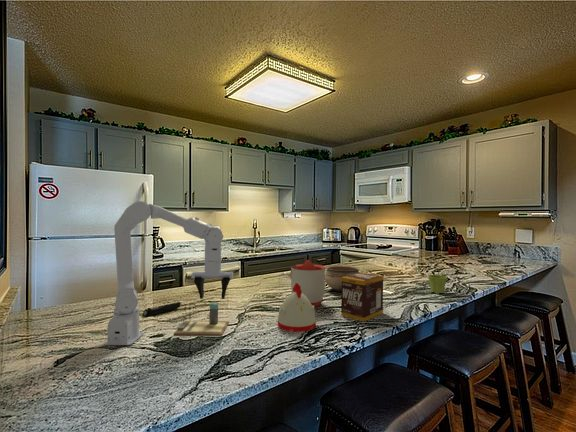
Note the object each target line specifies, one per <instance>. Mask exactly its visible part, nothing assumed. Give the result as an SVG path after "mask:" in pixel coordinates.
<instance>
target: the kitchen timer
mask: <svg viewBox="0 0 576 432" xmlns="http://www.w3.org/2000/svg"><path fill="white" fill-rule="evenodd" d="M315 309H316V307H314V306H312V305H311V303H310V301H309V300H308V298H307V297H306V296H305V295H304V294H302V290H301V286H299V284H298V283H295V285H294V288H293V293H292V292H291V293H290V294H289V295H288V296H287V297H285V299H284V301H283V303H282V304H280V305H279V310H278V314H277V315H278V316H277V327H279V328H280V329H282V330H283V331H284V330H285V331H288V332H307V331H310V330H311V331H312V330H313V329H315V328H316V323H317V321H316V310H315Z"/></svg>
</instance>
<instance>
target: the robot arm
mask: <svg viewBox="0 0 576 432" xmlns="http://www.w3.org/2000/svg"><path fill="white" fill-rule="evenodd" d="M149 218H150V219H152V220H153V219H155V220H157V219H160V220H163V221H166V222H169V223H171V224H175V225H176V226H180V227H182V228H183V230H184V232H185V233H186V234H189V235H191V236H194V237H195V238H198V239H200V240H204V242H205V243H204V271H193V272H191V279H193V283H194V284H195V286H196V288H197V291H198V295H199V299H200V300H202V299H203V298H204V295H205V293H204V287H205V286H204V285H205V279H221V281H220V282H221V300H225V297H226V292H227V288H228V286H229V284H230V282H231V280H232V279H234V272H233V271H228V272H227V271H222V241H223V239H224V234H223V231H221V229H220V228H219V227H215V226H213V225H212V224H211V223H206V222H204V221H202V220H200V218H199V217H193V216H191V217H190V218H185V217H184V216H181V215H178V214H177V213H175V212H172V211H171V210H168V209H165V208H164V207H161V206H159V205H154V204H151V203H147V202H145V201H142V200H141V201H140V200H139V201H135V202H133V203H132V204H130V205H129V206H127V207H126V208H125V210H124V211H123V213H122V214H121V215H120V217H119V218H118V220H117V221H116V223H115V224H114V226H113V227H114V229H113V230H114V231H113V232H114V242H115V243H114V245H115V257H116V258H115V260H116V276H117V293H116V295H115V302H114V307H115V308H114V309H113V316H112V318H111V319H109V320H108V323H107V340H106V342H104V346H130V345H133V344H134V343H135V342H136V341H137V340H138V339H140V338H141V337H142V336H143V335H144V334H145V332H144V331H140V307H139V306H138V305H139V299H138V291H137V290H136V288H135V285H134V271H133V270H134V269H133V254H132V252H133V250H132V235H131V232H132V230H134V228H136V227H137V226H138V225H139V224H141V223H143V222H145V221H147V220H148V219H149Z"/></svg>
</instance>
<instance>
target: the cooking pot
mask: <svg viewBox="0 0 576 432" xmlns="http://www.w3.org/2000/svg"><path fill="white" fill-rule="evenodd" d="M325 269H326V270H325V284H326V285H327V286H328V287H329V288H331V289H333V290H334V291H335V292H337V291H341V292H340V293H342V277H344V276H349V275H353V274H357V273H360V271H359V270H360V268H359V267H357V266H353V265H344V264H343V265H342V264H338V265H328V266H325Z"/></svg>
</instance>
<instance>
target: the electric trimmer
mask: <svg viewBox="0 0 576 432" xmlns="http://www.w3.org/2000/svg"><path fill="white" fill-rule="evenodd" d="M181 304H182V303H181V302H180V301H178V302H174V303H173V302H172V303H167V304H163V305H159V306H156V307H148V308H145V309H144V311H143V313H142V317H144V318H149V317H150V316H153V315H156V314H161V313H167V312H170V311H173V310H176V309H179V308H180V307H181Z"/></svg>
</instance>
